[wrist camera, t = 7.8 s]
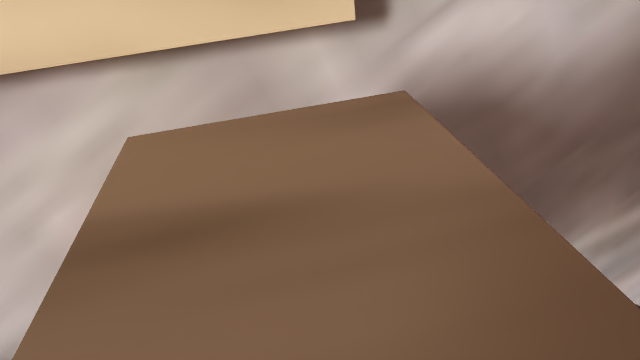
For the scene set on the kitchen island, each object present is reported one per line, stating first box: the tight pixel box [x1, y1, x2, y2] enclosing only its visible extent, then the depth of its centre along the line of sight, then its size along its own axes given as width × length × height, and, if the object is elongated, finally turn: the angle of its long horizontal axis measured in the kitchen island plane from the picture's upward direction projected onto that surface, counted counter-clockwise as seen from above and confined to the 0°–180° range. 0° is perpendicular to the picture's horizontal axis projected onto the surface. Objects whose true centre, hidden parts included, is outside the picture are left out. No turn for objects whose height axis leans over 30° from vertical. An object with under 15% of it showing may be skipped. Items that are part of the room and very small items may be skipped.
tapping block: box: [12, 91, 640, 360], centre depth 7 cm, size 5×5×6 cm
